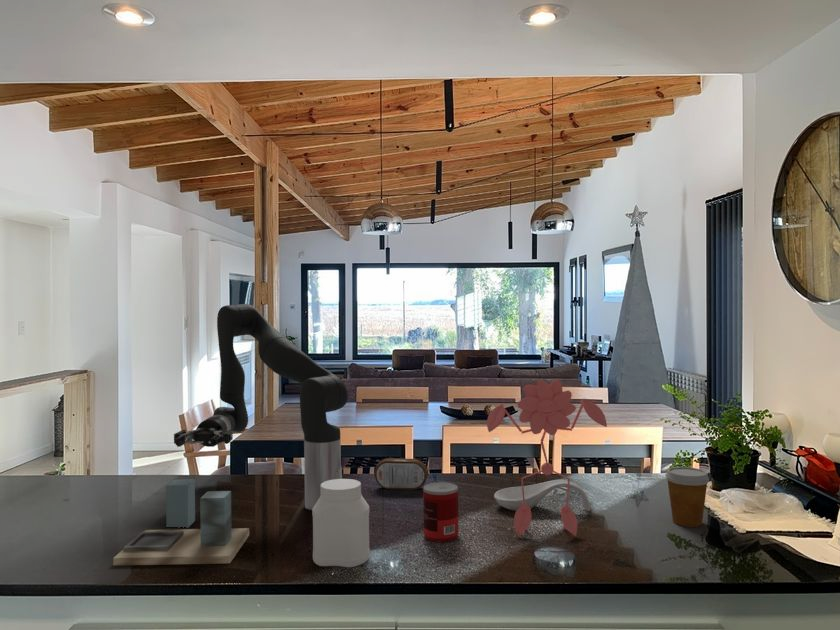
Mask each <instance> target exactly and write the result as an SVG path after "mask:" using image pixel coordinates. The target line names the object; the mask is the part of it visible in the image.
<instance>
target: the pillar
mask: <svg viewBox="0 0 840 630" xmlns="http://www.w3.org/2000/svg"><path fill="white" fill-rule="evenodd" d="M195 480H196V479H194V478H190V479H189V478H188V479H187V478H186V479H185V478H183V479H173V480H171V481H170V482H169V483H167V484H166V485H165V511H166V512H165V518H166V527H178V528H177V529H181V528H180V527H183V528H182V529H189V528H190V526H192V524H194V523H195V521H196V493H195V492H196V487H195V486H196V485H195V484H196V483H195V482H196V481H195ZM184 527H186V528H184Z"/></svg>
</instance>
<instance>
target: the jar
mask: <svg viewBox="0 0 840 630" xmlns="http://www.w3.org/2000/svg"><path fill="white" fill-rule="evenodd" d="M320 488H321V489H320V491H321V492H320V494H321V495H320V498H319V499H318V501H317V502H316V504H315V506H314V507H313V509H312V510H311V513H312V514H311V515H312V560H313V562H314V564H316V565H317V566H319V567H344V568H354V567H355V568H356V567H358V566H361V565H363V564H364V563H366V562H367V561H369V559H370V557H371V550H370V505H369V503H368V502H367V501H366V499H365V498H364V497H363V495H362V483H361V481H359V480H357V479H352V478H342V479H334V480H329V481H325V482H323V483H322V484H321V485H320Z"/></svg>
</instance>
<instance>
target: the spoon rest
mask: <svg viewBox="0 0 840 630" xmlns="http://www.w3.org/2000/svg"><path fill="white" fill-rule="evenodd" d="M523 487H524V498H525V505H526V506H527V505H528V506H529V507H530V509H531V510H532V509H533V508H534V507H535V506H537V505H538V504H539V503H540V502H541V501H542V500H543V499H544V498H545V497H546V496H547V495H548V494H549V493H551V492H552V491H554V490H556V489H559V488H562V487H564V488H568V479H562V478H561V479H552V480H549V481H544V482H540V483H536V484H535V483H534V484H529V485H523ZM569 489H571V490H574V491H575V492H577V493H578V495H580V497H581V499H582V504H583V509H584V510H585V511H586V512H590V511H591V504H590V500H589V498H588V496H587V493H586V492H585V490H584V489H583V487H581V486H580V485H579V484H578V483H576V482H574V481H571V480H570V483H569ZM493 494H494V495H493V497H494V500H496V502H497V503H498V504H499V505H500V506H501V507H503V508H504V509H507V510H509V511H513V512H514V511H515V512H516V511H517V510H518V508H519V507H520V506H522V505H523V494H522V485H521V486H512V487H505V488H501V489H499V490H497V491H496V492H495V493H493Z"/></svg>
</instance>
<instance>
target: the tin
mask: <svg viewBox="0 0 840 630" xmlns="http://www.w3.org/2000/svg"><path fill="white" fill-rule="evenodd" d="M428 476H429V469H428V468H427V466H426V464H425V463H424V462H423V461H422V460H420V459H417V458H399V457H397V458H396V457H387V458H383V459H381V460H380V461H379V462H378V463H377V465H376V466H375V469H374V478H375V481H376V483H377V485H379V486H380V487H381V488H383V489H387V490H409V491H410V490H413V491H414V490H415V491H416V490H419V489H420V488H422V487H424V486H425V485H426V482H427V480H428Z"/></svg>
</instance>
